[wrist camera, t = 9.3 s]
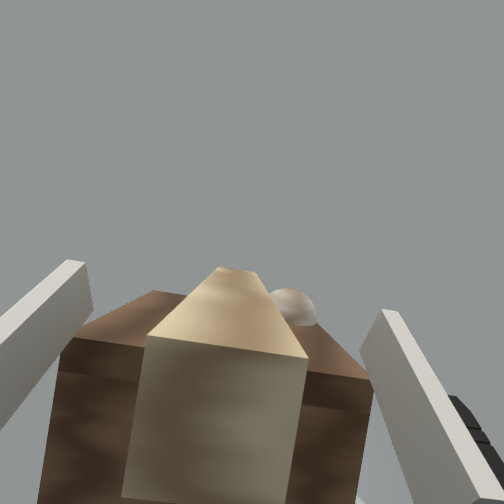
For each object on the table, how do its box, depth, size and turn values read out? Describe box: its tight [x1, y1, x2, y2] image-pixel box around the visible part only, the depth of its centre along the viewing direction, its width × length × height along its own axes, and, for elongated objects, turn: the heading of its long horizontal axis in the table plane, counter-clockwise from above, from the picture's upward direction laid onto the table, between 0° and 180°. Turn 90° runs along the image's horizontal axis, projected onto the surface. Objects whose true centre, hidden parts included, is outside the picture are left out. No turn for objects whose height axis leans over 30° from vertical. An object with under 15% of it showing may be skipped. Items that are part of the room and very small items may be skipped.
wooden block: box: [37, 288, 374, 504], centre depth 24 cm, size 18×16×37 cm
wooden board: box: [121, 267, 309, 504], centre depth 18 cm, size 4×23×4 cm, turn 3°
